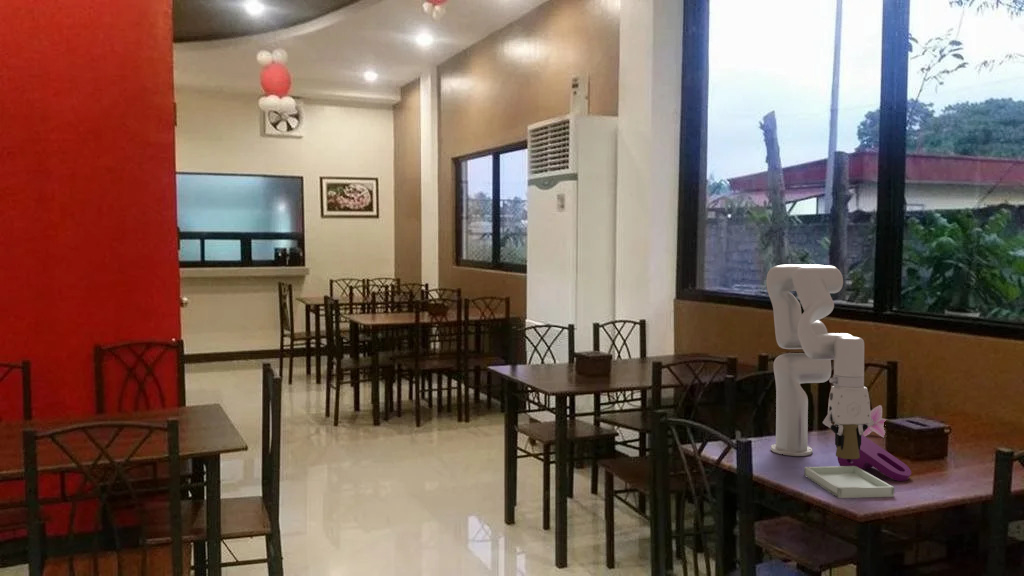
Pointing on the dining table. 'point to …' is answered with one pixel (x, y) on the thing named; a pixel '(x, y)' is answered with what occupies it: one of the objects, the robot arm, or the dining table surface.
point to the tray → (849, 482)
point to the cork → (849, 443)
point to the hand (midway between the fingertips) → (848, 447)
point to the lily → (876, 422)
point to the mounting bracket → (878, 461)
